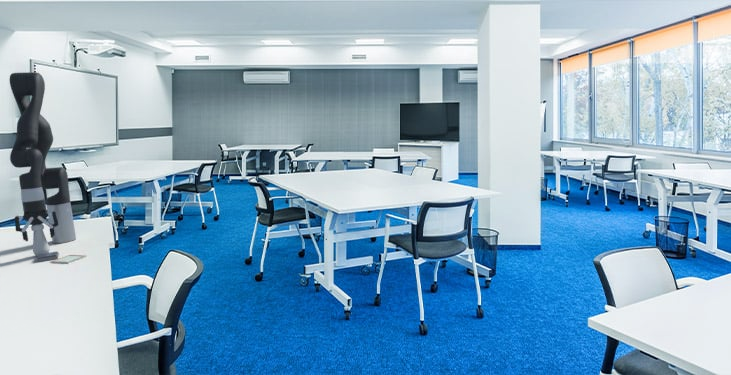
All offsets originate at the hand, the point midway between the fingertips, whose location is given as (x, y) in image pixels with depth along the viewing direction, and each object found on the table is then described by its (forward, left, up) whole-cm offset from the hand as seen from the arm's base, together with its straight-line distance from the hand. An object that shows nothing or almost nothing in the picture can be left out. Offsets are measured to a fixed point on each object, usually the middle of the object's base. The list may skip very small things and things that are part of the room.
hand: (39, 239), depth 198 cm
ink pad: (+7, +3, -7) cm, 10 cm away
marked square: (+15, +10, -7) cm, 19 cm away
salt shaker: (0, 0, -7) cm, 7 cm away
